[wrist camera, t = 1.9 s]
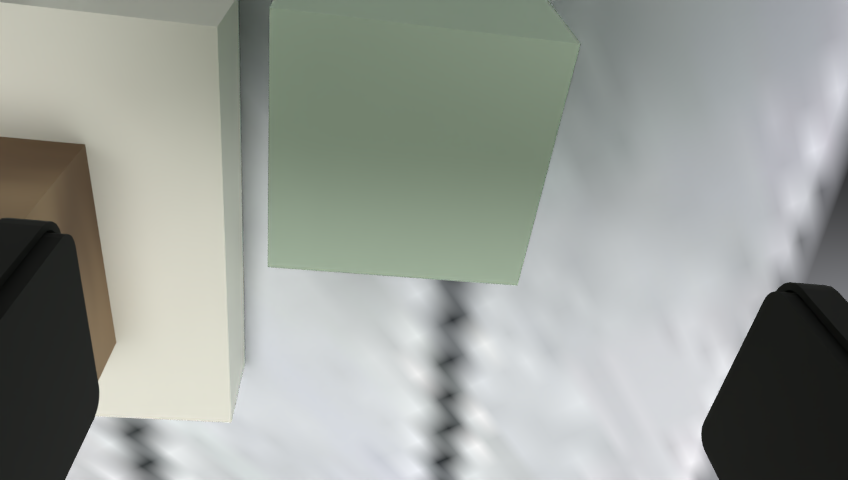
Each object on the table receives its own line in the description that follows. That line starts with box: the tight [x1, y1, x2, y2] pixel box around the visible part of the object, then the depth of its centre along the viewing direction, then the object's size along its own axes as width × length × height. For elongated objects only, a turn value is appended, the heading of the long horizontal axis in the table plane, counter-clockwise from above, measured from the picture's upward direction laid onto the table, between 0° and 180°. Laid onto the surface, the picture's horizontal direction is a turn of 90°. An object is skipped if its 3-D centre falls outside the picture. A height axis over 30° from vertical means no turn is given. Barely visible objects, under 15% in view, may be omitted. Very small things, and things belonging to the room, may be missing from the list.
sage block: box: [268, 0, 580, 285], centre depth 15 cm, size 5×5×6 cm
